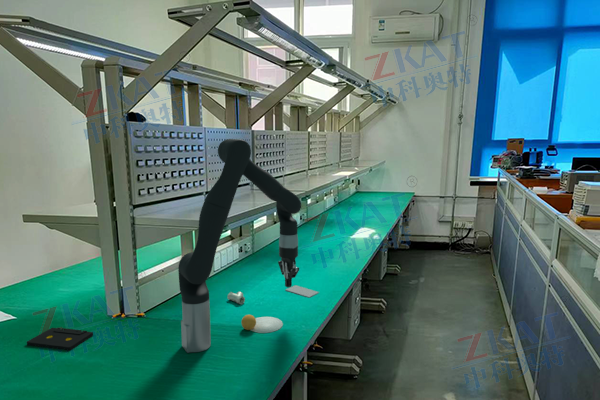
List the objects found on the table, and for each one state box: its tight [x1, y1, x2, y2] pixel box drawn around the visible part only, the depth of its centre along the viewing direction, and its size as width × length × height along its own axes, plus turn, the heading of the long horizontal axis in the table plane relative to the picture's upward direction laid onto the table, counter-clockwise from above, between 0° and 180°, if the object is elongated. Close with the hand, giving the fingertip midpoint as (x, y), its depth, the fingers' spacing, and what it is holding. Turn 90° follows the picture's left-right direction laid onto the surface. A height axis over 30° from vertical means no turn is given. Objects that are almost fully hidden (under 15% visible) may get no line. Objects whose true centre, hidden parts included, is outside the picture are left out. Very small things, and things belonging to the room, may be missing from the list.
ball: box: [240, 314, 256, 331], centre depth 157 cm, size 6×6×6 cm
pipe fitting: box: [227, 291, 246, 305], centre depth 185 cm, size 8×4×7 cm
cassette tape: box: [26, 327, 94, 352], centre depth 148 cm, size 18×12×2 cm, turn 78°
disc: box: [250, 316, 284, 334], centre depth 161 cm, size 14×14×1 cm
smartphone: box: [284, 284, 320, 298], centre depth 196 cm, size 8×1×15 cm
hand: (288, 286), depth 165 cm, fingers closed
